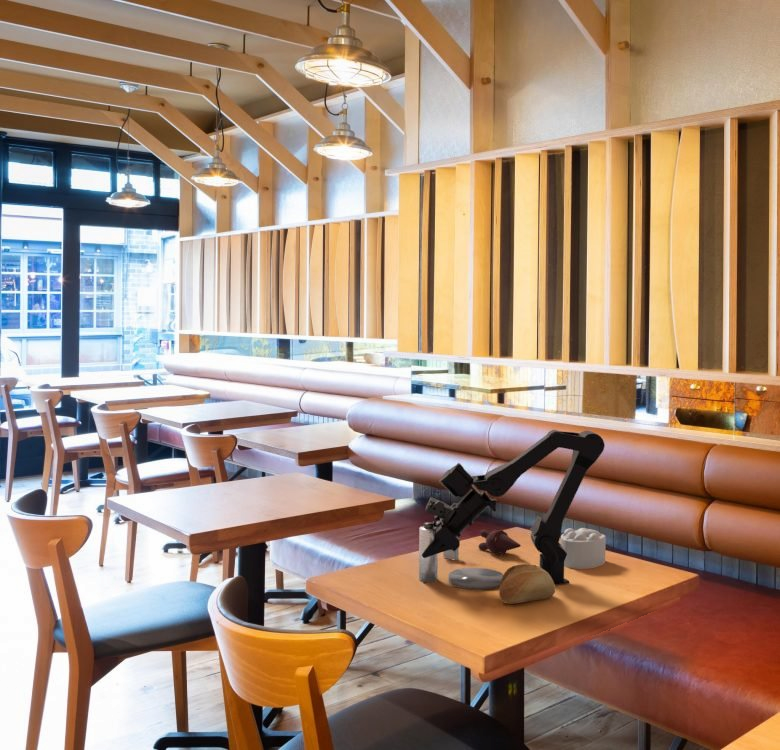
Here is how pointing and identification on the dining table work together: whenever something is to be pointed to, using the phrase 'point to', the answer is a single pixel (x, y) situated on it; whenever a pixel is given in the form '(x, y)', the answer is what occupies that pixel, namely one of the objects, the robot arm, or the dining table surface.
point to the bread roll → (525, 584)
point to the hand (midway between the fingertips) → (422, 553)
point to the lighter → (451, 554)
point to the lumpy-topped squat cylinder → (583, 548)
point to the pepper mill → (430, 563)
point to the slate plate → (475, 578)
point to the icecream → (497, 542)
